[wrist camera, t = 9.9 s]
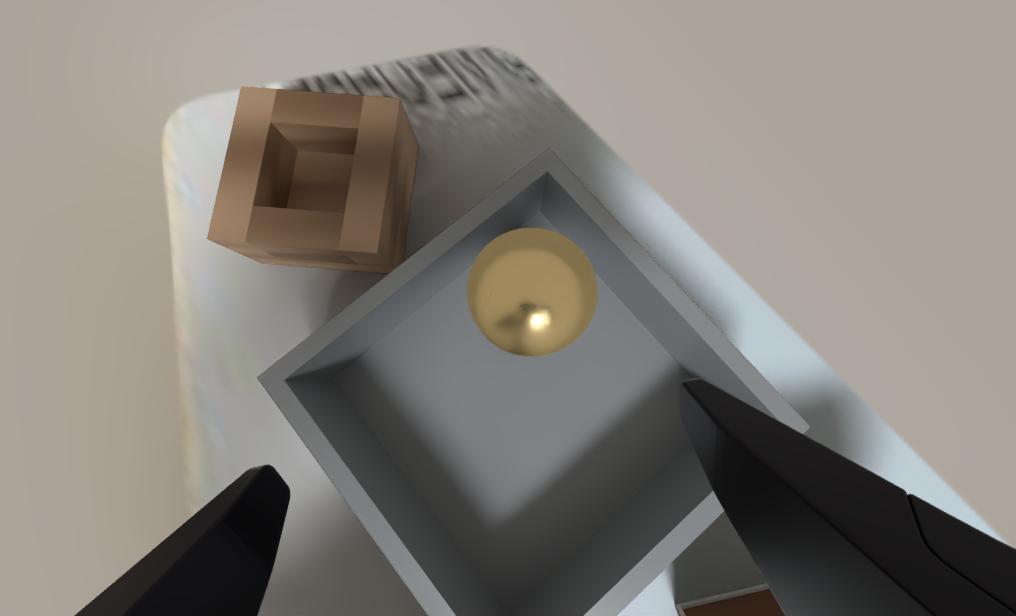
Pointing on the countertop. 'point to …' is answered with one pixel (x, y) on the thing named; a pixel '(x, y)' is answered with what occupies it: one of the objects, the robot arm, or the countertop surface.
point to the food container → (734, 604)
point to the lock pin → (532, 292)
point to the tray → (518, 419)
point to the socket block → (317, 180)
